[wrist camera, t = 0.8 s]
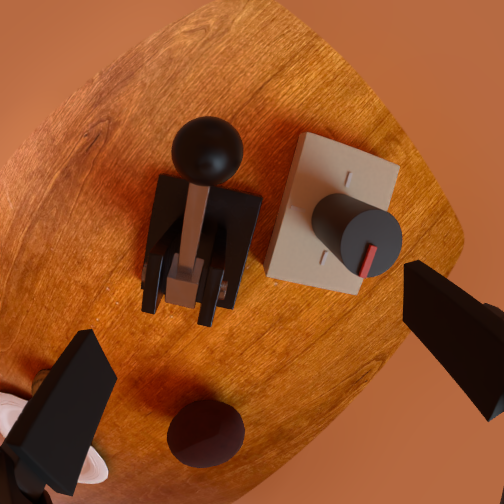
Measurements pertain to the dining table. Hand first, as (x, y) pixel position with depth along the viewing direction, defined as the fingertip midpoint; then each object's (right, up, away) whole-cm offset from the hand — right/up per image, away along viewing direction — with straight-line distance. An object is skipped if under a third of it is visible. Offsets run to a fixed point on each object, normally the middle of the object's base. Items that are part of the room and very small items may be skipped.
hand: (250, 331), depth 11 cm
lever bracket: (-5, +4, +19) cm, 20 cm away
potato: (-7, -19, +27) cm, 34 cm away
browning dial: (+8, +6, +16) cm, 19 cm away
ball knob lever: (-3, +6, +8) cm, 10 cm away
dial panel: (+8, +7, +19) cm, 22 cm away
